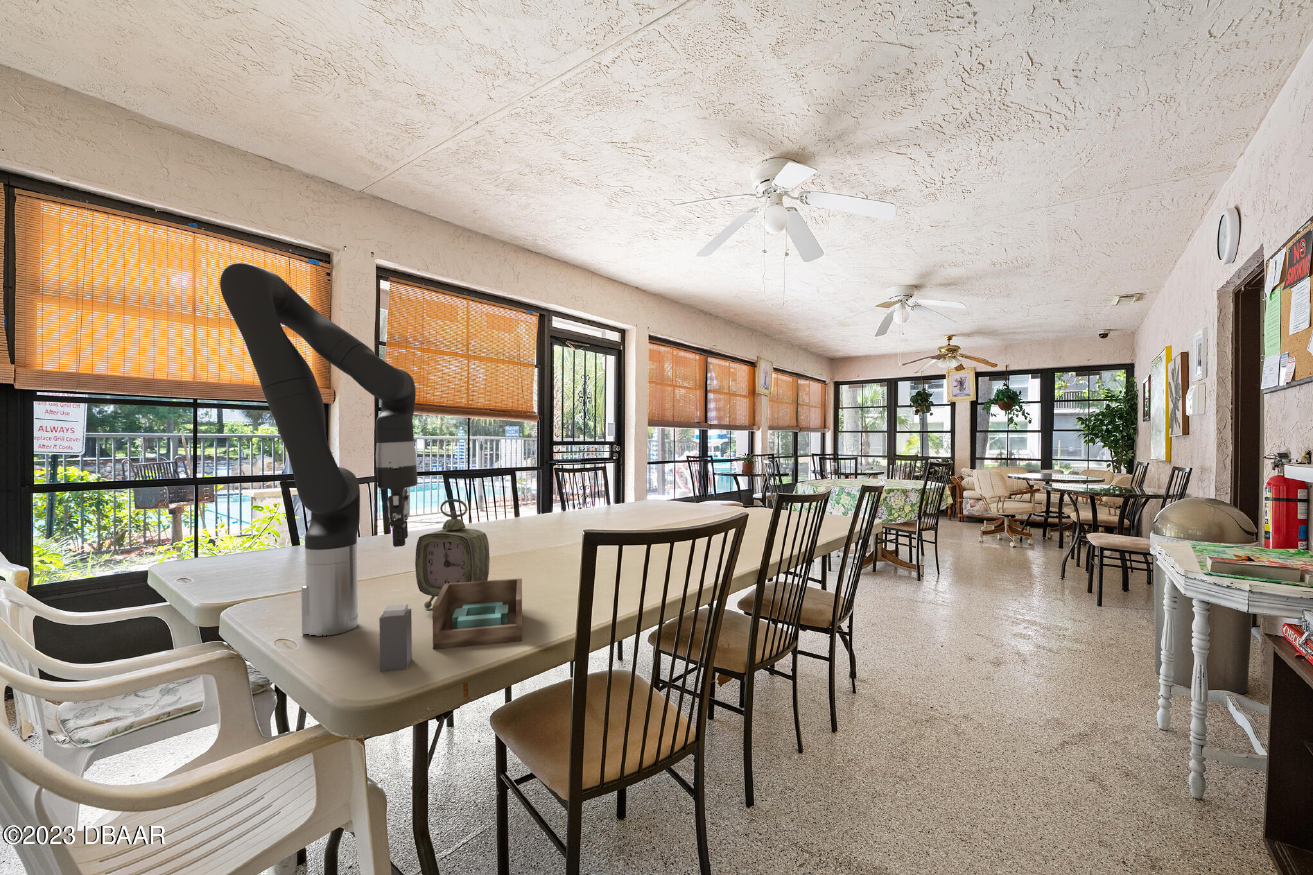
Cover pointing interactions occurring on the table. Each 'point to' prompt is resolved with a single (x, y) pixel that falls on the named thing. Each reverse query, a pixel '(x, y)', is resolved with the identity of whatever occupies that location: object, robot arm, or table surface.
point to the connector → (395, 638)
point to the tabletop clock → (451, 555)
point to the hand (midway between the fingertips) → (400, 542)
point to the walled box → (478, 613)
